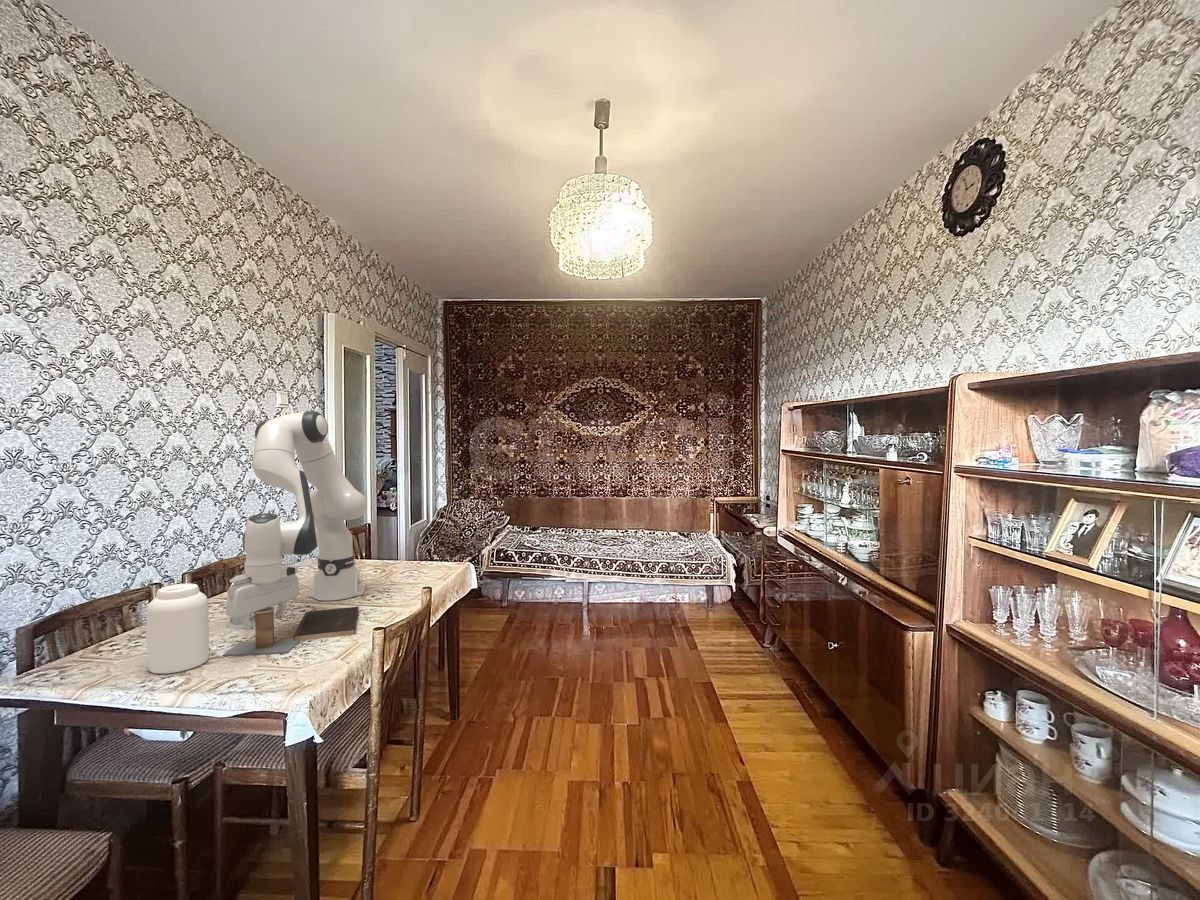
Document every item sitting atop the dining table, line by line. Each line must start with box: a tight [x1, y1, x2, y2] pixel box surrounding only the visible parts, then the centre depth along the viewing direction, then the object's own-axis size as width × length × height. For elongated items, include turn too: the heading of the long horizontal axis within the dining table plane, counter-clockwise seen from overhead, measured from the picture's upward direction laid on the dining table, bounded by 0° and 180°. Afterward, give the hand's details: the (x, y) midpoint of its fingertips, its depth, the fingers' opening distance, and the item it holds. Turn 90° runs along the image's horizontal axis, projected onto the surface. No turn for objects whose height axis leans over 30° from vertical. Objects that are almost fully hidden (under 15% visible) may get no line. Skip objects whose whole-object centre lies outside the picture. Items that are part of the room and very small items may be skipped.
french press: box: [226, 542, 255, 629], centre depth 175 cm, size 10×12×25 cm
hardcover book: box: [292, 606, 360, 641], centre depth 172 cm, size 16×23×2 cm
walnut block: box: [254, 606, 275, 649], centre depth 154 cm, size 4×4×10 cm
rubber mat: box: [222, 639, 302, 657], centre depth 153 cm, size 9×16×1 cm, turn 98°
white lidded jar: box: [146, 583, 210, 675], centre depth 142 cm, size 12×12×20 cm
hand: (264, 623), depth 154 cm, fingers open, 8 cm apart
